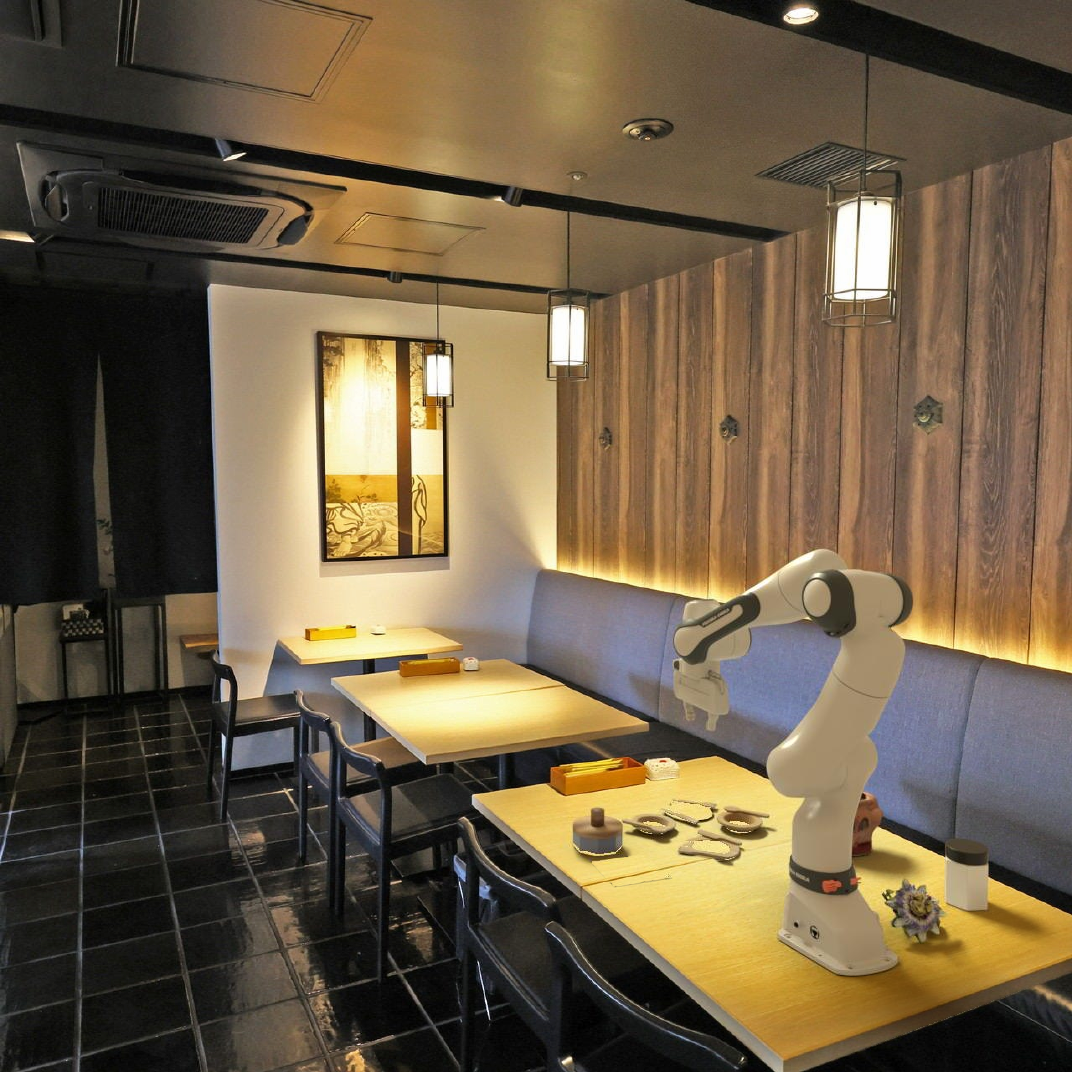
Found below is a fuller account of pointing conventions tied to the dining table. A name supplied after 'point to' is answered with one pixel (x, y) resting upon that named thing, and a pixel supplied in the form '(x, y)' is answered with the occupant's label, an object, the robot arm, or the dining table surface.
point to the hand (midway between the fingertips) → (700, 725)
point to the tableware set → (722, 818)
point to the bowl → (598, 844)
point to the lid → (597, 826)
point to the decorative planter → (865, 824)
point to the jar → (966, 874)
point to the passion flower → (914, 910)
